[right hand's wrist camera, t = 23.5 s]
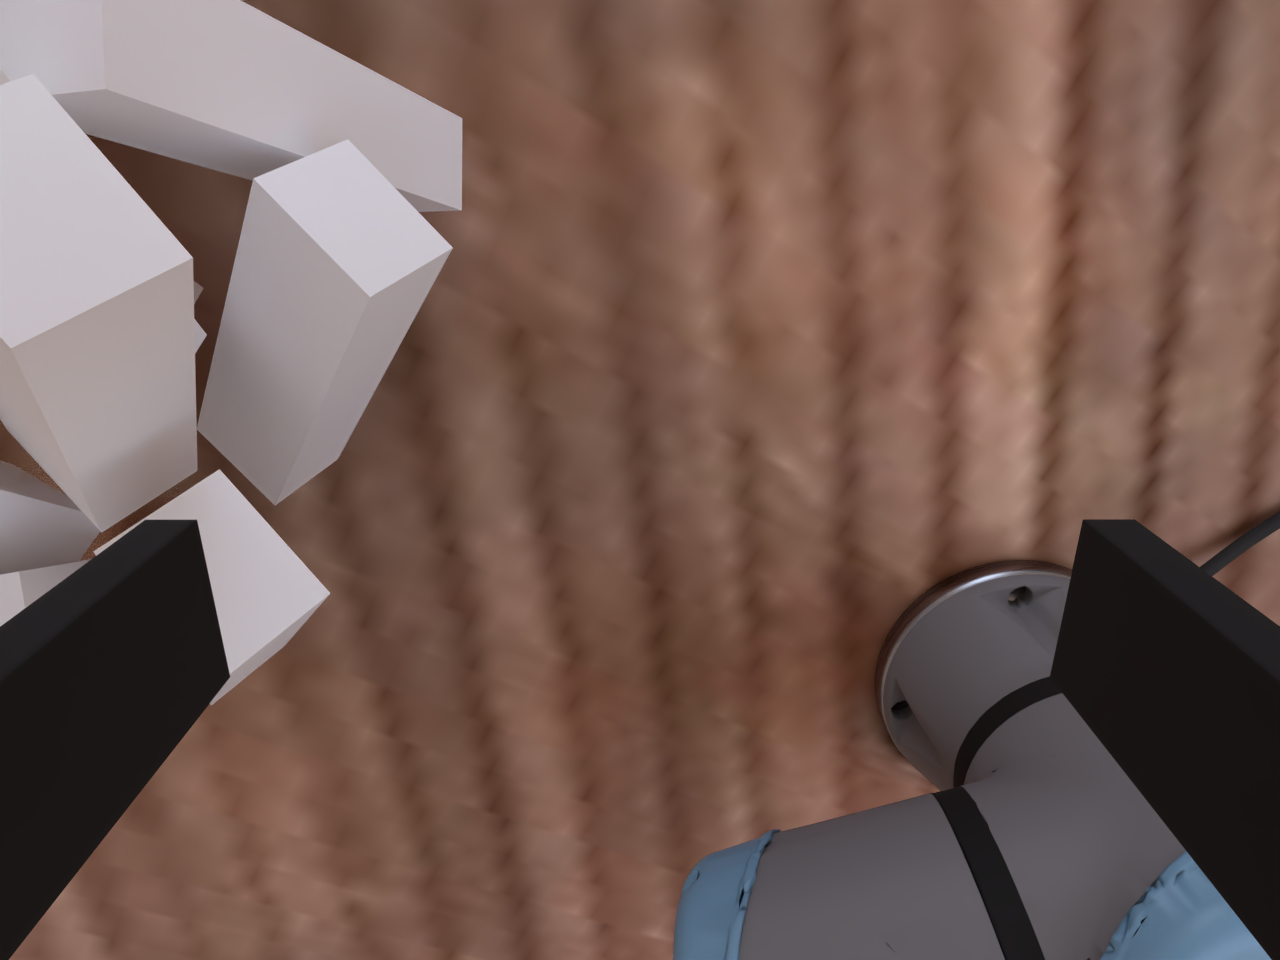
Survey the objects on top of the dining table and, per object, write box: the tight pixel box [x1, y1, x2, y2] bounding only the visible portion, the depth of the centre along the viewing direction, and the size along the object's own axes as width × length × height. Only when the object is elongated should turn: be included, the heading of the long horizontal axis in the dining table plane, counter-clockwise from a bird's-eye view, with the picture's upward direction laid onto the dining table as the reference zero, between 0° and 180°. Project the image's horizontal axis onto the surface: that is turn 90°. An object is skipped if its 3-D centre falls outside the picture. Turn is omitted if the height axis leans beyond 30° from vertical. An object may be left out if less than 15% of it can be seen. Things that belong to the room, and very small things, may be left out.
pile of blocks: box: [0, 0, 462, 705], centre depth 32 cm, size 35×30×35 cm
